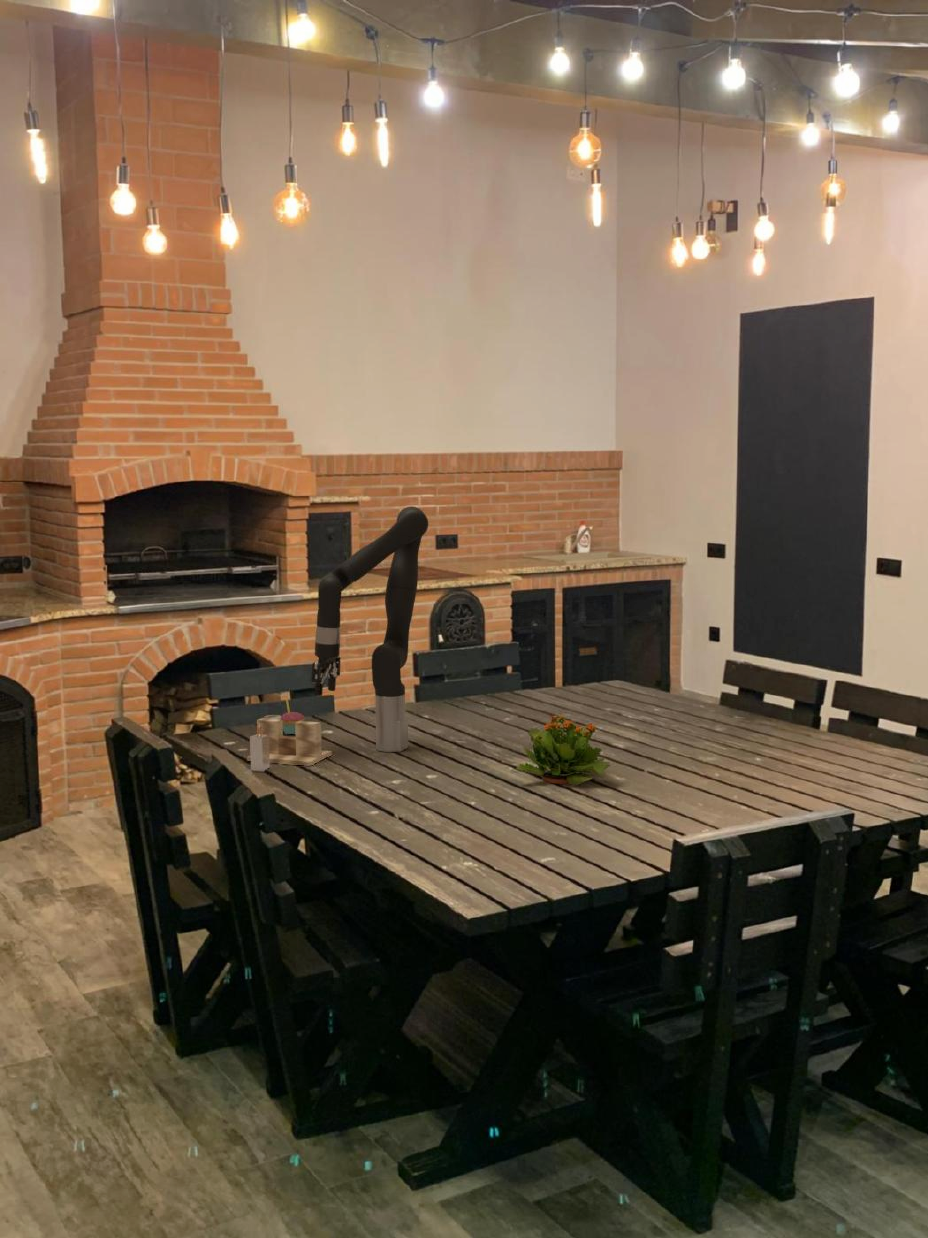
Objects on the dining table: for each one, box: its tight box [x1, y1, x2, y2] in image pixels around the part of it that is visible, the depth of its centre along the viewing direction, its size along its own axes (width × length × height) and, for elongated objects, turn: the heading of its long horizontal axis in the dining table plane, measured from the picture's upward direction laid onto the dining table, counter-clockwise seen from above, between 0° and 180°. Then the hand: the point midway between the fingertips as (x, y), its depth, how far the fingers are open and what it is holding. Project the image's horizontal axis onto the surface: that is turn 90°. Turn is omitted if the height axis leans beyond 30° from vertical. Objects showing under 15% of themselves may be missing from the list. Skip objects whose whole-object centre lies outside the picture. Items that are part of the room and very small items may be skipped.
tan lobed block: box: [246, 714, 333, 766], centre depth 371 cm, size 21×14×12 cm, turn 69°
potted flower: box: [516, 715, 612, 787], centre depth 344 cm, size 25×24×18 cm
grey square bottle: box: [249, 725, 271, 773], centre depth 359 cm, size 4×4×13 cm
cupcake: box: [280, 696, 306, 735], centre depth 406 cm, size 9×8×12 cm
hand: (325, 693), depth 378 cm, fingers open, 8 cm apart
